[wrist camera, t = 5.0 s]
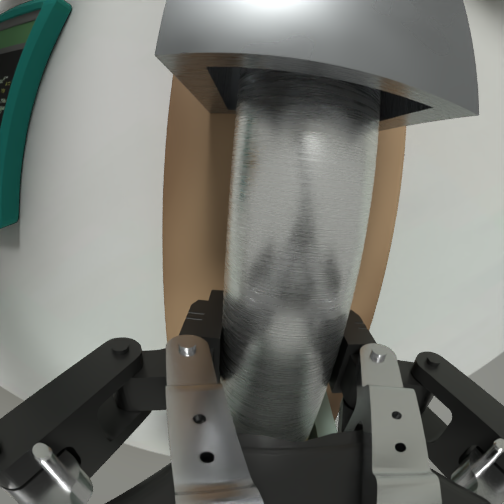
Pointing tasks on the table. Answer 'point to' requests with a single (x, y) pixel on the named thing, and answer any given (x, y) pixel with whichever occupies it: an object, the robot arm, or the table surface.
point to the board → (217, 202)
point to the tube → (293, 242)
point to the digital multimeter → (22, 86)
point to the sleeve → (328, 50)
